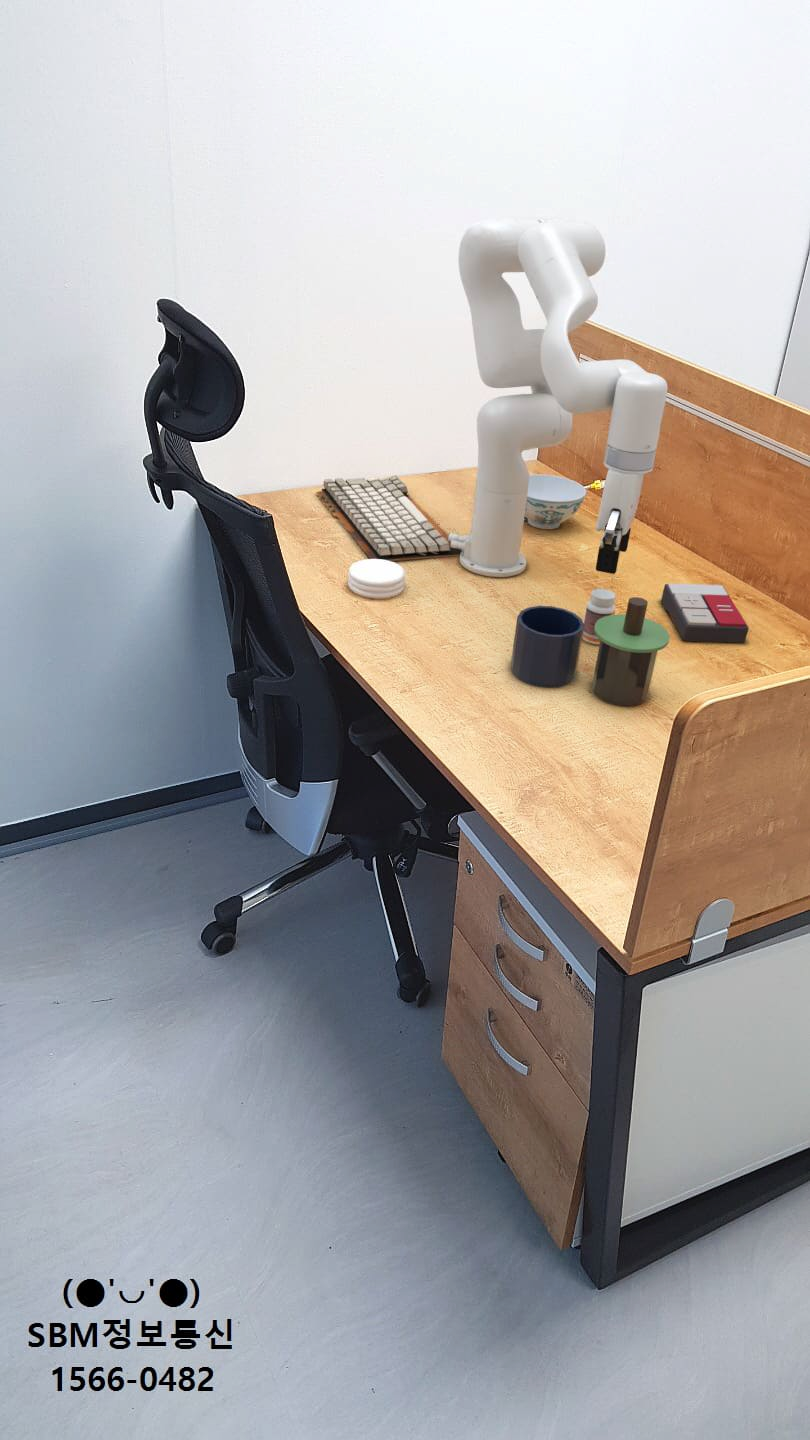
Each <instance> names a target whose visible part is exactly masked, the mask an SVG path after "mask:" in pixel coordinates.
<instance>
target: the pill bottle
mask: <svg viewBox="0 0 810 1440" xmlns="http://www.w3.org/2000/svg"><path fill="white" fill-rule="evenodd" d="M616 596H617V595H616V593H615V592H614V591H613V590H610V589H607V588H595V589H593V590H591V592H590V596H589V600H588V601H587V603H586V606H585V612H584V613H585V614H584V618H583V623H584V631H583V637H582V640H583V641H584V642H586V643H588V644H592V645H597V646H599V645H600V639H599V638H598V637H597V636H596V634H595V632H594V627H595V623H596V622H597V621H598V620H599V619H601V618H603V617H605V616H609V615H616V605H615V602H616V598H617V597H616Z"/></svg>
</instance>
